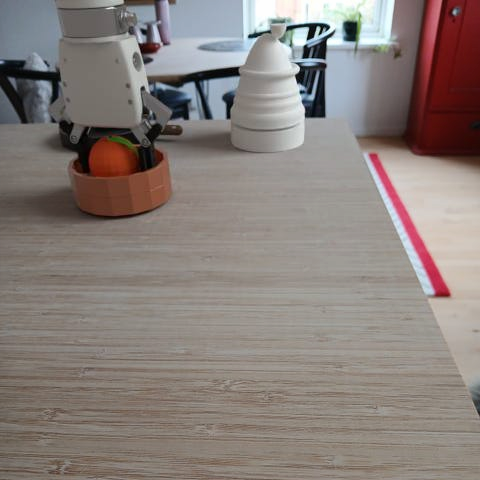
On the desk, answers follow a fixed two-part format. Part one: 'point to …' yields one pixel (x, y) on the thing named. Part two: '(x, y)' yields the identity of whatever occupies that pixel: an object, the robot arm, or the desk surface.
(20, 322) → the desk surface
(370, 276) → the desk surface
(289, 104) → the honey pot
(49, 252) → the desk surface
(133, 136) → the pan
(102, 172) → the clementine
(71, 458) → the desk surface
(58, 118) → the robot arm
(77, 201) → the bowl
